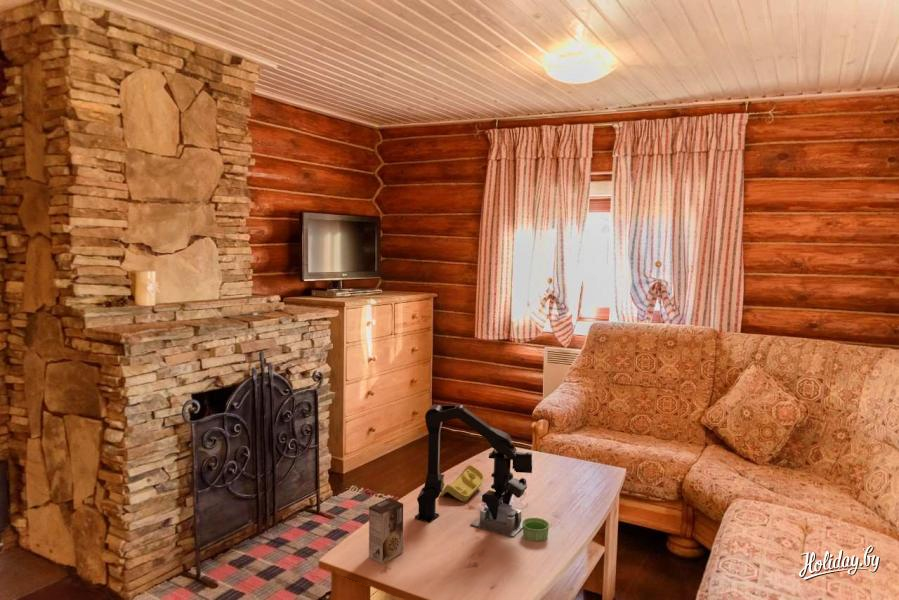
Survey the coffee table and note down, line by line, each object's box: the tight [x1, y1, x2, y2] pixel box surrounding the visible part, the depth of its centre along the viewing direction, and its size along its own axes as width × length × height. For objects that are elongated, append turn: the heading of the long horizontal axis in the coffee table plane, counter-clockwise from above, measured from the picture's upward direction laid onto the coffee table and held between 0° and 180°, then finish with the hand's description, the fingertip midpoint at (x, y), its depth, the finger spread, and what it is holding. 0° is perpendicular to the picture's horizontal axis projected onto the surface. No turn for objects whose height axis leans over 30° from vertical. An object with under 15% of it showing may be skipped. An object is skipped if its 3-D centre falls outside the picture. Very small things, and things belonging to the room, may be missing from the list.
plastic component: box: [439, 464, 485, 503], centre depth 239 cm, size 20×7×10 cm
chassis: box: [470, 507, 526, 538], centre depth 212 cm, size 14×16×4 cm
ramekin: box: [522, 517, 550, 542], centre depth 204 cm, size 9×9×4 cm
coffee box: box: [368, 497, 404, 565], centre depth 188 cm, size 9×6×16 cm
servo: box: [483, 503, 519, 524], centre depth 212 cm, size 4×11×7 cm, turn 60°
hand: (500, 514), depth 212 cm, fingers open, 9 cm apart
